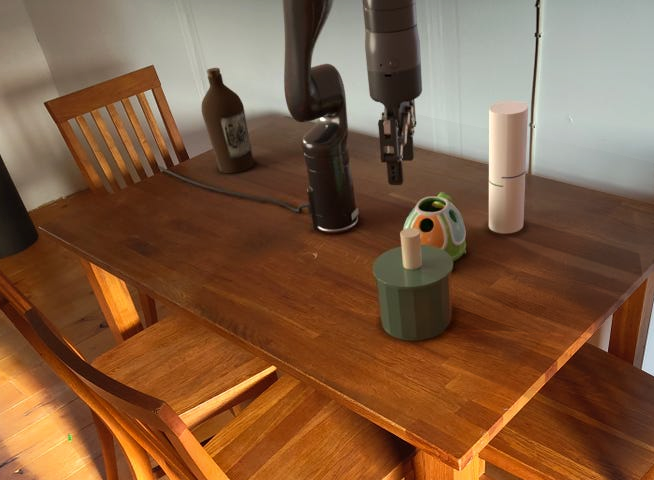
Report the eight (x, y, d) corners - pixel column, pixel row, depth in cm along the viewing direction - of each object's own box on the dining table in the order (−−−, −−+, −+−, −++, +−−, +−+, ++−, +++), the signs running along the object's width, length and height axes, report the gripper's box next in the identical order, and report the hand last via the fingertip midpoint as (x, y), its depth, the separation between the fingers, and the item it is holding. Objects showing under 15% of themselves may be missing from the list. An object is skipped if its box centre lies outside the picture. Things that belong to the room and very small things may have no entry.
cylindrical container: (522, 235, 137) (527, 113, 121) (487, 235, 139) (487, 114, 123) (523, 219, 142) (528, 100, 127) (489, 219, 144) (490, 101, 128)
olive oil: (209, 168, 181) (183, 72, 165) (241, 155, 186) (219, 60, 170) (231, 178, 174) (206, 78, 159) (264, 163, 180) (242, 66, 164)
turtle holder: (476, 233, 140) (476, 179, 132) (458, 279, 127) (456, 223, 119) (419, 229, 143) (415, 177, 136) (395, 274, 130) (390, 219, 123)
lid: (365, 291, 108) (359, 252, 104) (382, 249, 118) (378, 212, 114) (447, 294, 105) (445, 255, 101) (458, 251, 115) (457, 213, 111)
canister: (374, 338, 115) (367, 286, 108) (389, 298, 124) (384, 248, 117) (446, 342, 112) (443, 289, 105) (456, 300, 121) (454, 249, 115)
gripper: (378, 46, 99) (387, 152, 109) (354, 78, 88) (367, 192, 99) (428, 45, 97) (433, 152, 107) (410, 77, 86) (417, 193, 97)
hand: (401, 171), depth 103 cm, fingers open, 8 cm apart
